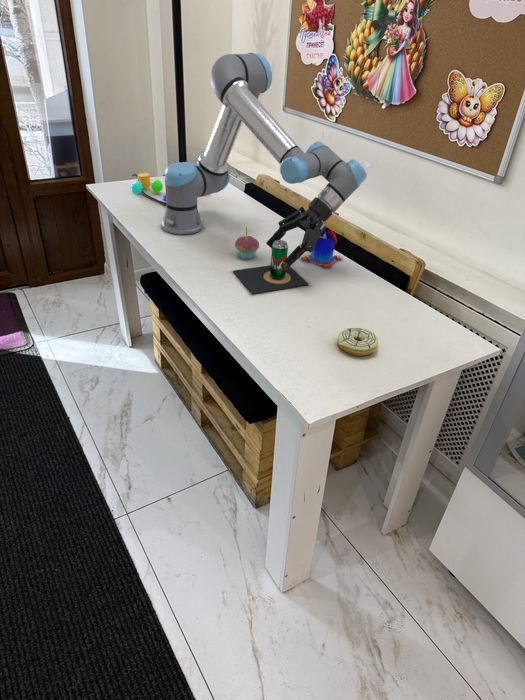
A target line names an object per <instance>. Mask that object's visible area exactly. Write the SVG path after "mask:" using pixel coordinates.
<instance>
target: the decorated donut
mask: <svg viewBox="0 0 525 700" xmlns="http://www.w3.org/2000/svg"><path fill="white" fill-rule="evenodd" d="M337 345H338V348H340V349H341V350H342V351H344V352H345V353H348V354H350V355H353V356H359V357H363V356H368V355H371V354H373V353H374V352H375V351H376V350H377V349H378V345H379V337H378V335H376V334H375V333H374V332H372V331H371V330H369V329H367V328H362V327H350V328H346V329H342V330H341V331H340V332H339V333H338V335H337Z"/></svg>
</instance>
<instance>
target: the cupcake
mask: <svg viewBox="0 0 525 700" xmlns="http://www.w3.org/2000/svg"><path fill="white" fill-rule="evenodd" d="M234 247H235V248H236V250H237V251H238V253H239V257H240V258H241V259H242V260H243V259H244V260H251V259H253V258H254V256H255V254H256V252H257V251H258V250H259V248H260V242H259V240H258V239H257V238H254V237H253V236H251V235H248V226H246V225H245V235H242V236H240V237H238V238H237V239H236V240H235V241H234Z"/></svg>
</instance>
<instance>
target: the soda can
mask: <svg viewBox="0 0 525 700" xmlns="http://www.w3.org/2000/svg"><path fill="white" fill-rule="evenodd" d="M288 253H289V245H288V241H285V240H282V239H280V240H276V241H274V243H273V245H272V248H271V255H270V265H271V266H270V276H271V277H272V278H273V279H276V280H280V279H283V278H284V277H285V273H286V262H285V261H284V260H285V259H286V258H287V257H288Z"/></svg>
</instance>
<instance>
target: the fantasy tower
mask: <svg viewBox="0 0 525 700" xmlns="http://www.w3.org/2000/svg"><path fill="white" fill-rule="evenodd" d="M337 241H338V238H337V235H336V233H335V232H334V231H333V230H332V229H327V227H326V228H325V229H324V230H323V232H322V233H321V235H320V237H319V239H318V241H317V243H316V245H315V247H314V249H313V251H312V252H311V254H310V255H309V256H307V255H306V256H303V257H300V258H301V261H302V262H306V263H311V264H315V265H318V266H320V267H321V268H323V269H331V268H332V266H331V265H333V264H334V263H336V262H339V261H342V259H341V257H340V256H339V255H334V253H335V251H334V250H335V249H336V247H335V245H337Z"/></svg>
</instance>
